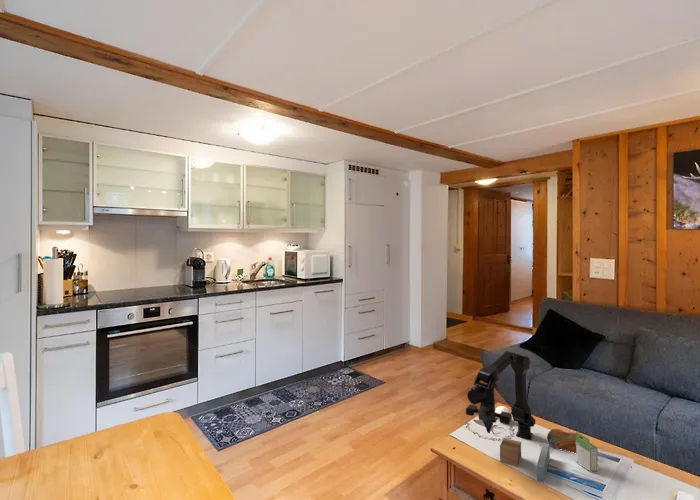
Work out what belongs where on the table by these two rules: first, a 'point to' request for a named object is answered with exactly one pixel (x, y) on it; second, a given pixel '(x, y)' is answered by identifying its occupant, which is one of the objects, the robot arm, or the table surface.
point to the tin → (562, 440)
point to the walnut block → (510, 452)
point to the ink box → (586, 453)
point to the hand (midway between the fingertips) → (488, 432)
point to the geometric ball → (500, 409)
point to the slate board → (543, 462)
